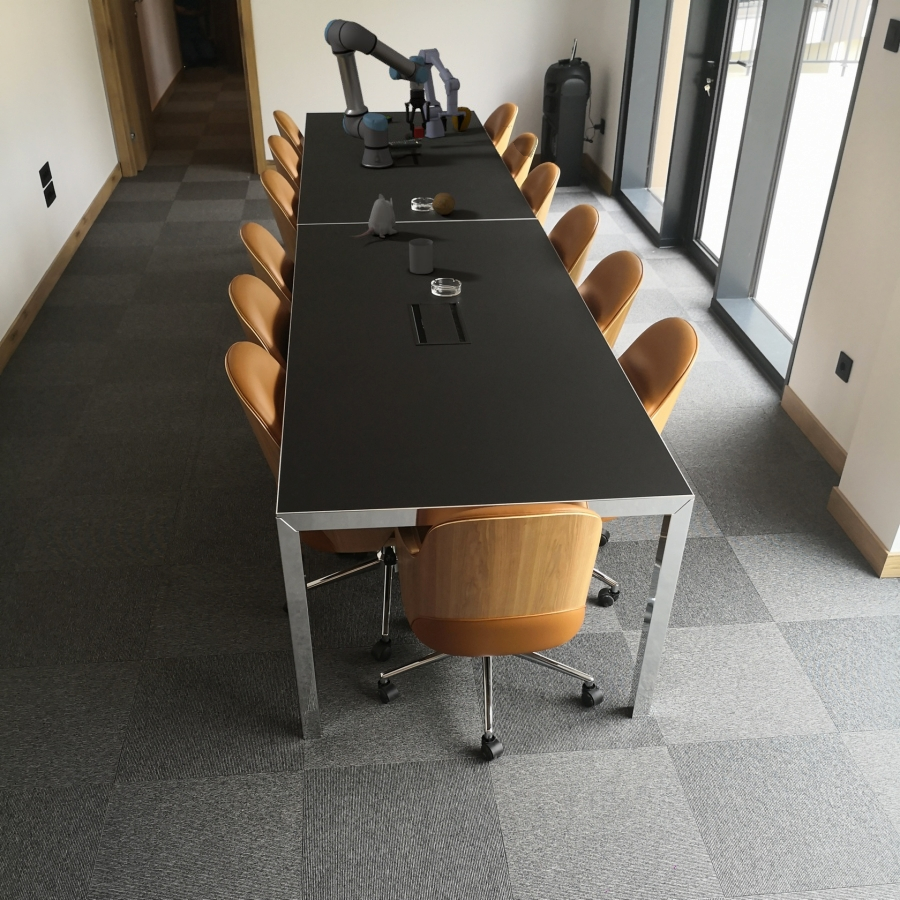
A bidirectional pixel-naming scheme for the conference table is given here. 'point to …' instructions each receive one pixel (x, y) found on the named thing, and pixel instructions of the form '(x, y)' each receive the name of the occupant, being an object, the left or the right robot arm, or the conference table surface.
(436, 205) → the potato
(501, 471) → the conference table surface
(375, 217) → the toy
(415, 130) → the brick
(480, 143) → the conference table surface
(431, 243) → the cup
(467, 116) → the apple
